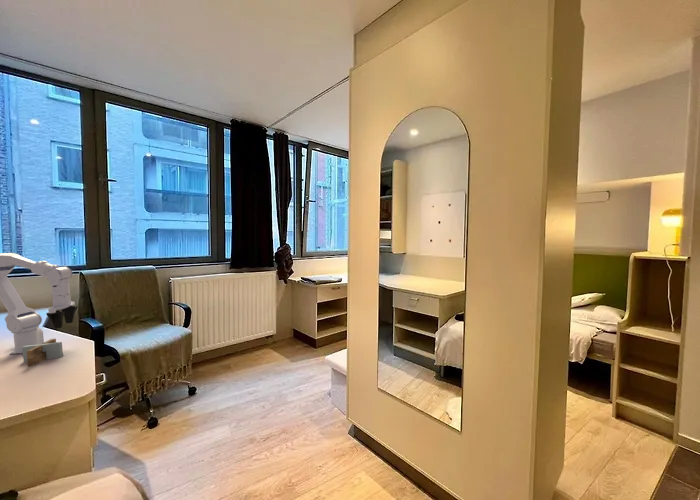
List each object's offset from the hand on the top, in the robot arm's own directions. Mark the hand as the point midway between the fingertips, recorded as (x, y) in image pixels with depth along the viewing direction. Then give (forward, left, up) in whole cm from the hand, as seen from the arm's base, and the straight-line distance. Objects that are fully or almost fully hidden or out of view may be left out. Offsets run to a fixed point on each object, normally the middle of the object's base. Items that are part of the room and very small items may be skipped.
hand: (64, 325), depth 133 cm
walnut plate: (+11, -2, -10) cm, 15 cm away
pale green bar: (+11, -2, -10) cm, 15 cm away
